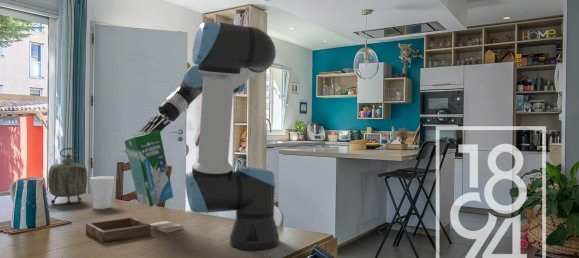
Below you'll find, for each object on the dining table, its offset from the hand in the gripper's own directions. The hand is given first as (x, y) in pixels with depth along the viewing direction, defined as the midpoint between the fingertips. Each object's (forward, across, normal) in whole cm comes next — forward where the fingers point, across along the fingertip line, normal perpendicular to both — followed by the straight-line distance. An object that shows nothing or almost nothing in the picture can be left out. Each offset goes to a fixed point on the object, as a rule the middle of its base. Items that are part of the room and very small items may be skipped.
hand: (127, 153), depth 139 cm
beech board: (+11, -8, -26) cm, 29 cm away
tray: (+22, -7, -14) cm, 27 cm away
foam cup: (+15, +42, -22) cm, 49 cm away
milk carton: (+5, -2, -18) cm, 19 cm away
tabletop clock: (+20, +60, -15) cm, 66 cm away
